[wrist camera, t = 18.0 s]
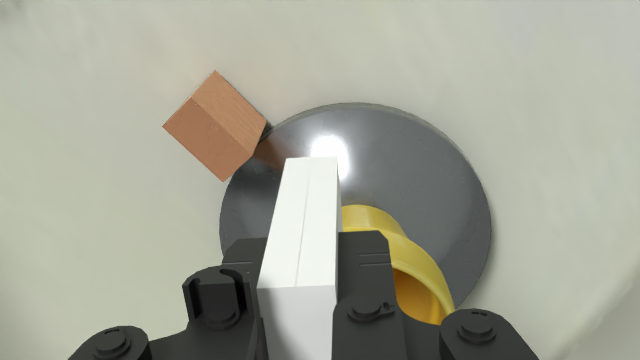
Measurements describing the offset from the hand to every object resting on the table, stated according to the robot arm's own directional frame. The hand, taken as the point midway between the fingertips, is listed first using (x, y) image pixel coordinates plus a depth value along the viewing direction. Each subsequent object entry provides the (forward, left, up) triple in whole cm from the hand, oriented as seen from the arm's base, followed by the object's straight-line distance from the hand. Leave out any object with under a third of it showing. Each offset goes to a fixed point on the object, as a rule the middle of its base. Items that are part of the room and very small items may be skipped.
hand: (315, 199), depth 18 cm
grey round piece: (-1, -10, -20) cm, 23 cm away
